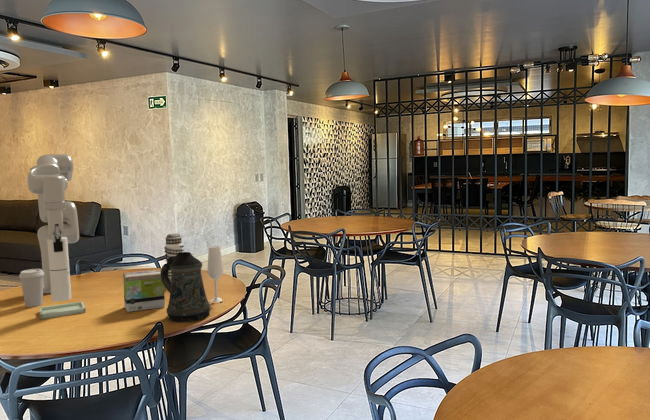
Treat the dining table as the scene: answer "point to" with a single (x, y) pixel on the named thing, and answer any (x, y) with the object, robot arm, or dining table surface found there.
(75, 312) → the tray
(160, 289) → the tea box
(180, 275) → the beer stein
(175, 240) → the decorative candle
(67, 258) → the cylindrical container
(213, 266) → the champagne flute
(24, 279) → the coffee cup
